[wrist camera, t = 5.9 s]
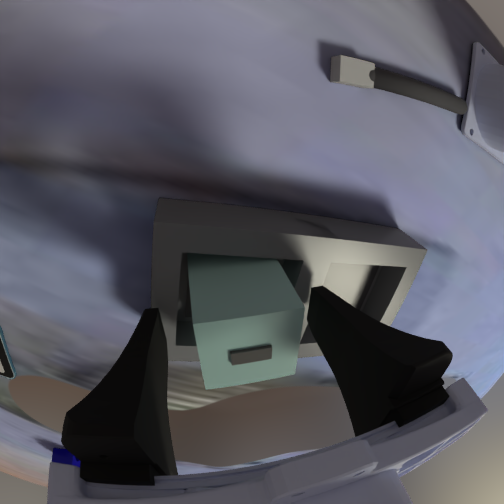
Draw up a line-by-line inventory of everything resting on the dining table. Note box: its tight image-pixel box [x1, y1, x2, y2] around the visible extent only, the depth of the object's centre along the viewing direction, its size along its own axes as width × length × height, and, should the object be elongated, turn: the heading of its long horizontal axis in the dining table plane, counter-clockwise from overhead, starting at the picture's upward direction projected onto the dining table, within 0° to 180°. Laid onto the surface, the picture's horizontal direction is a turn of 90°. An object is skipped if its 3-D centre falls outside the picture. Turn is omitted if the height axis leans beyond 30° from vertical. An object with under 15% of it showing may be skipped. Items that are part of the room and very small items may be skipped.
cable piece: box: [330, 55, 468, 115], centre depth 13 cm, size 11×1×1 cm, turn 88°
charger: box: [187, 253, 305, 390], centre depth 13 cm, size 4×4×5 cm
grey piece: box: [151, 198, 427, 361], centre depth 16 cm, size 15×8×3 cm, turn 78°
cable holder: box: [52, 448, 80, 468], centre depth 24 cm, size 8×4×4 cm, turn 6°
